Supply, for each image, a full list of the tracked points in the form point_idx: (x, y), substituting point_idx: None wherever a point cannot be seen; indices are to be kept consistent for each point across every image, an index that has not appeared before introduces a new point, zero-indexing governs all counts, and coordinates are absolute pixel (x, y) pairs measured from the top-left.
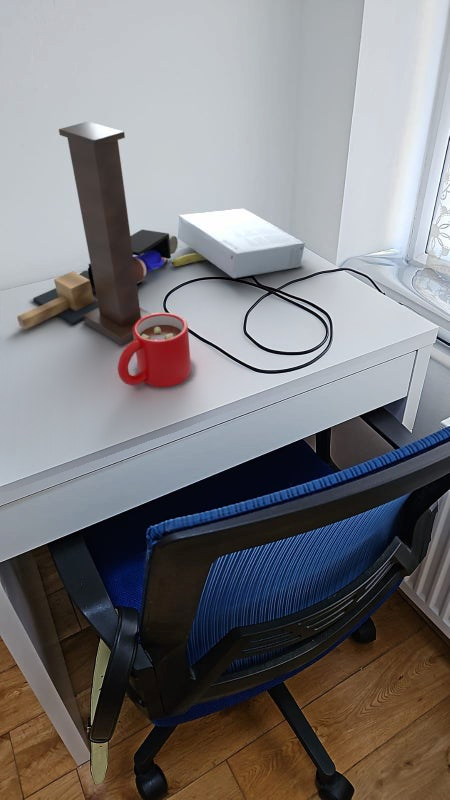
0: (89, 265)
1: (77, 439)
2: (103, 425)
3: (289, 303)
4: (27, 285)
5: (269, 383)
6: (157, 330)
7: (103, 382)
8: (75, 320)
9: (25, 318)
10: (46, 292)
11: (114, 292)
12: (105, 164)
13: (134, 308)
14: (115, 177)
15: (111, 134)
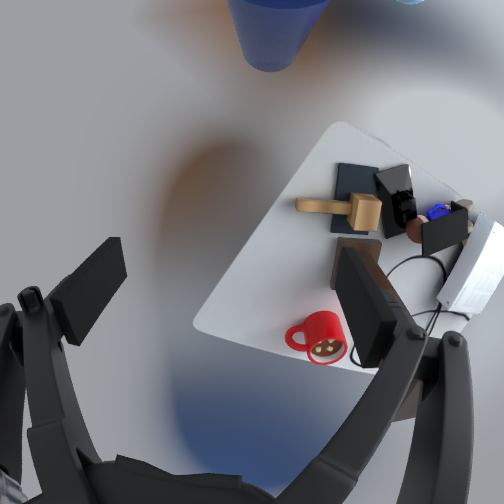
0: (400, 203)
1: (236, 331)
2: (255, 333)
3: (426, 326)
4: (356, 129)
5: (343, 366)
6: (330, 342)
7: (286, 306)
8: (334, 232)
9: (300, 210)
10: (355, 166)
11: None
12: None
13: None
14: None
15: (411, 417)
